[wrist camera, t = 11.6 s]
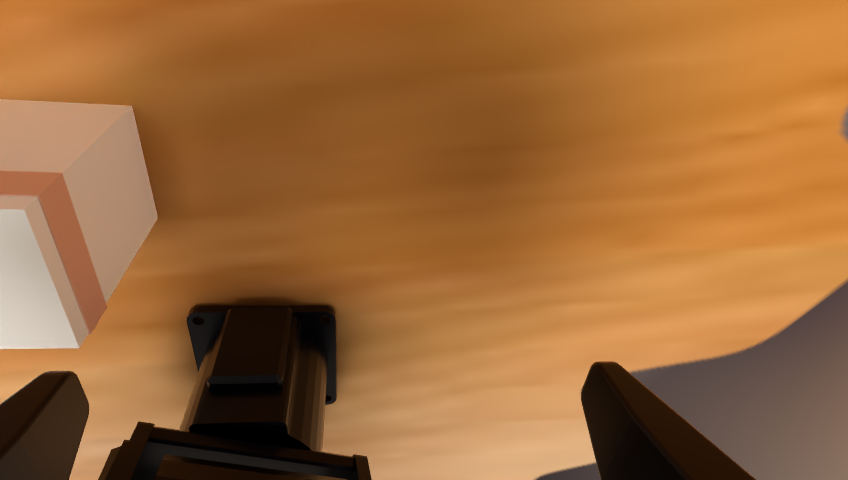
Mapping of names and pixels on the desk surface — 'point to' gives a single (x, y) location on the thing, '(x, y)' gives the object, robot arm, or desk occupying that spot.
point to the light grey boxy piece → (66, 217)
